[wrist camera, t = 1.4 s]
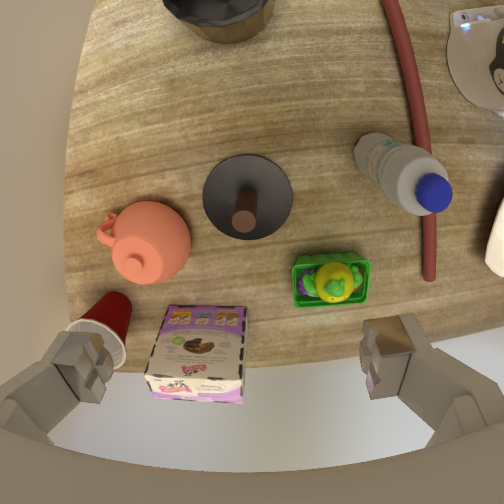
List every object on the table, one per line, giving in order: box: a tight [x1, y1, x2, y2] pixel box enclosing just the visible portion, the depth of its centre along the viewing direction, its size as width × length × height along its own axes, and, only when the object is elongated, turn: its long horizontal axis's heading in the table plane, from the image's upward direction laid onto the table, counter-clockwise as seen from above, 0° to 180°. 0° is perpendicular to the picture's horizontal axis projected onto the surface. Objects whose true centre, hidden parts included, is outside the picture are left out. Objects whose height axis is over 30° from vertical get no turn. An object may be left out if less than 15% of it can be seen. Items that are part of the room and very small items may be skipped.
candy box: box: [144, 305, 248, 403], centre depth 48 cm, size 14×6×16 cm, turn 91°
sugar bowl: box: [96, 201, 191, 284], centre depth 43 cm, size 12×14×10 cm
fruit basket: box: [292, 252, 371, 309], centre depth 45 cm, size 11×9×11 cm
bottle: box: [354, 133, 452, 216], centre depth 32 cm, size 7×7×20 cm
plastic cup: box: [66, 292, 132, 369], centre depth 50 cm, size 11×11×12 cm
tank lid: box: [203, 154, 293, 240], centre depth 41 cm, size 12×12×9 cm
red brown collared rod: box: [382, 0, 436, 282], centre depth 39 cm, size 45×3×3 cm, turn 16°
